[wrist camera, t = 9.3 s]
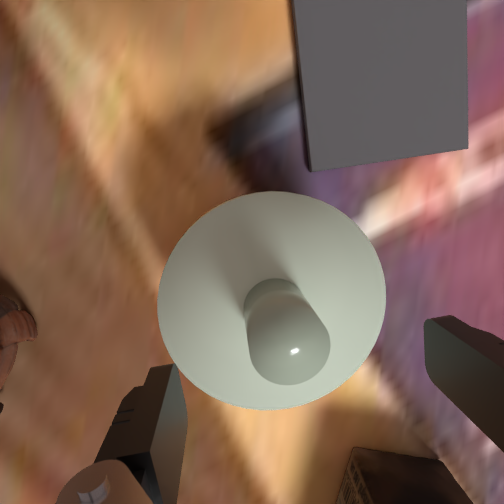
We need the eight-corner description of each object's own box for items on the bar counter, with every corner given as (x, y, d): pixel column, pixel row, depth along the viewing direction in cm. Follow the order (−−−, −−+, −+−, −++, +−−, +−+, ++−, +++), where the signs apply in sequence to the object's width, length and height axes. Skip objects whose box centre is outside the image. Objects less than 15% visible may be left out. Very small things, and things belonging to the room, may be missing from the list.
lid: (140, 210, 16) (102, 223, 11) (366, 175, 17) (429, 172, 12) (184, 412, 18) (169, 500, 13) (382, 376, 19) (439, 447, 14)
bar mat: (281, -90, 19) (283, -99, 18) (457, -110, 19) (465, -119, 19) (309, 172, 22) (312, 172, 21) (461, 149, 22) (468, 148, 21)
